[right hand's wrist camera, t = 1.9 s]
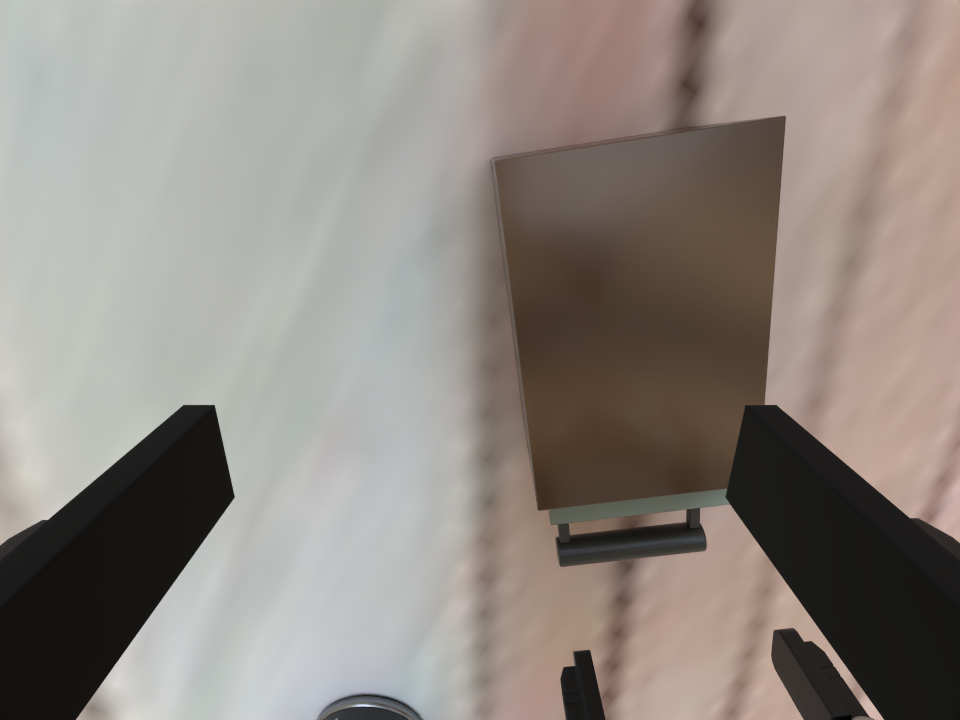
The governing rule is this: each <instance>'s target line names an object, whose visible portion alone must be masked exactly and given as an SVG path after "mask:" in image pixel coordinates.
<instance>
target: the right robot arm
mask: <svg viewBox="0 0 960 720" xmlns="http://www.w3.org/2000/svg"><path fill="white" fill-rule="evenodd" d="M234 498H235V497H234V492H233V487H232V483H231V478H230V474H229V469H228V464H227V460H226V455H225V451H224V446H223V441H222V437H221V432H220V428H219V423H218V418H217V414H216V409H215V405H183V406H182V407H181V408H180V409H179V410H177V411H176V412H175V413H174V414H173V415H171V416H170V417H169V418H168V419H167V420H166V421H164V422H163V423H162V424H161V425H160V426H158V427H157V428H156V429H155V430H154V431H153V432H151V433H150V434H149V435H148V436H147V437H145V438H144V439H143V440H142V441H141V442H140V443H138V444H137V445H136V446H135V447H134V448H133V449H131V450H130V451H129V452H128V453H127V454H125V455H124V456H123V457H122V458H121V459H120V460H118V461H117V462H116V463H115V464H114V465H112V466H111V467H110V468H109V469H108V470H107V471H105V472H104V473H103V474H102V475H101V476H99V477H98V478H97V479H96V480H95V481H94V482H92V483H91V484H90V485H89V486H88V487H86V488H85V489H84V490H83V491H82V492H81V493H79V494H78V495H77V496H76V497H75V498H73V499H72V500H71V501H70V502H69V503H68V504H66V505H65V506H64V507H63V508H62V509H61V510H59V511H58V512H57V513H56V514H55V515H53V516H52V517H51V518H50V519H49V520H42V521H40V522H38V523H36V524H35V525H33V526H31V527H29V528H27V529H26V530H24V531H22V532H20V533H18V534H17V535H15V536H13V537H11V538H9V539H8V540H7V541H5V542H4V543H3V544H2V545H1V546H0V720H76V719H77V717H78V716H79V714H80V713H81V712H82V710H83V709H84V707H85V706H86V705H87V703H88V702H89V700H90V699H91V698H92V696H93V695H94V693H95V692H96V691H97V689H98V688H99V686H100V685H101V684H102V682H103V681H104V679H105V678H106V677H107V675H108V674H109V672H110V671H111V670H112V668H113V667H114V665H115V664H116V663H117V661H118V660H119V658H120V657H121V656H122V654H123V653H124V651H125V650H126V649H127V647H128V646H129V644H130V643H131V642H132V640H133V639H134V637H135V636H136V635H137V633H138V632H139V630H140V629H141V628H142V626H143V625H144V623H145V622H146V621H147V619H148V618H149V616H150V615H151V614H152V612H153V611H154V609H155V608H156V607H157V605H158V604H159V602H160V601H161V600H162V598H163V597H164V596H165V594H166V593H167V591H168V590H169V589H170V587H171V586H172V584H173V583H174V582H175V580H176V579H177V577H178V576H179V575H180V573H181V572H182V570H183V569H184V568H185V566H186V565H187V563H188V562H189V561H190V559H191V558H192V556H193V555H194V554H195V552H196V551H197V549H198V548H199V547H200V545H201V544H202V542H203V541H204V540H205V538H206V537H207V535H208V534H209V533H210V531H211V530H212V528H213V527H214V526H215V524H216V523H217V521H218V520H219V519H220V517H221V516H222V514H223V513H224V512H225V510H226V509H227V507H228V506H229V505H230V503H231V502H232V500H233V499H234ZM725 498H726V499H727V500H728V502H729V503H730V505H731V506H732V507H733V509H734V510H735V512H736V513H737V514H738V516H739V517H740V519H741V520H742V521H743V523H744V524H745V526H746V527H747V528H748V530H749V531H750V533H751V534H752V535H753V537H754V538H755V540H756V541H757V542H758V544H759V545H760V547H761V548H762V549H763V551H764V552H765V554H766V555H767V556H768V558H769V559H770V561H771V562H772V563H773V565H774V566H775V568H776V569H777V570H778V572H779V573H780V575H781V576H782V577H783V579H784V580H785V582H786V583H787V584H788V586H789V587H790V589H791V590H792V591H793V593H794V594H795V596H796V597H797V598H798V600H799V601H800V602H801V604H802V605H803V607H804V608H805V609H806V611H807V612H808V614H809V615H810V616H811V618H812V619H813V621H814V622H815V623H816V625H817V626H818V628H819V629H820V630H821V632H822V633H823V635H824V636H825V637H826V639H827V640H828V642H829V643H830V644H831V646H832V647H833V649H834V650H835V651H836V653H837V654H838V656H839V657H840V658H841V660H842V661H843V663H844V664H845V665H846V667H847V668H848V670H849V671H850V672H851V674H852V675H853V677H854V678H855V679H856V681H857V682H858V684H859V685H860V686H861V688H862V689H863V691H864V692H865V693H866V695H867V696H868V698H869V699H870V700H871V702H872V703H873V705H874V706H875V707H876V709H877V710H878V712H879V713H880V714H881V716H882V717H883V719H884V720H960V543H959V542H958V541H956V540H955V539H954V538H953V537H951V536H949V535H947V534H946V533H944V532H942V531H940V530H938V529H937V528H935V527H933V526H931V525H929V524H928V523H926V522H924V521H922V520H920V519H919V518H909V517H908V516H907V515H905V514H904V513H903V512H902V511H901V510H899V509H898V508H897V507H896V506H895V505H894V504H892V503H891V502H890V501H889V500H888V499H887V498H885V497H884V496H883V495H882V494H881V493H879V492H878V491H877V490H876V489H875V488H874V487H872V486H871V485H870V484H869V483H868V482H866V481H865V480H864V479H863V478H862V477H861V476H859V475H858V474H857V473H856V472H855V471H853V470H852V469H851V468H850V467H849V466H848V465H846V464H845V463H844V462H843V461H842V460H840V459H839V458H838V457H837V456H836V455H835V454H833V453H832V452H831V451H830V450H829V449H827V448H826V447H825V446H824V445H823V444H822V443H820V442H819V441H818V440H817V439H816V438H815V437H813V436H812V435H811V434H810V433H809V432H807V431H806V430H805V429H804V428H803V427H802V426H800V425H799V424H798V423H797V422H796V421H794V420H793V419H792V418H791V417H790V416H789V415H787V414H786V413H785V412H784V411H783V410H781V409H780V408H779V407H778V406H777V405H745V409H744V414H743V418H742V423H741V428H740V432H739V437H738V441H737V446H736V451H735V455H734V460H733V464H732V469H731V474H730V478H729V483H728V487H727V492H726V497H725Z"/></svg>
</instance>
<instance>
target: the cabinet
mask: <svg viewBox="0 0 960 720" xmlns="http://www.w3.org/2000/svg"><path fill="white" fill-rule="evenodd" d="M785 120H786V117H785V116H779V117H771V118H762V119H754V120H745V121H737V122H728V123H720V124H711V125H703V126H695V127H688V128H682V129H675V130H669V131H662V132H656V133H649V134H643V135H637V136H630V137H624V138H617V139H611V140H604V141H598V142H591V143H585V144H578V145H572V146H565V147H559V148H553V149H546V150H540V151H533V152H527V153H520V154H514V155H507V156H501V157H494V158H491V159H490V160H491V168H492V176H493V184H494V191H495V199H496V207H497V215H498V223H499V231H500V239H501V247H502V254H503V262H504V270H505V278H506V286H507V294H508V302H509V310H510V317H511V325H512V333H513V341H514V349H515V357H516V365H517V373H518V380H519V388H520V396H521V404H522V412H523V420H524V427H525V433H526V440H527V446H528V452H529V458H530V464H531V470H532V477H533V483H534V489H535V495H536V501H537V508H538V511H540V510H549V509H557V508H566V507H574V506H583V505H591V504H600V503H609V502H617V501H626V500H634V499H643V498H651V497H660V496H668V495H677V494H686V493H694V492H703V491H711V490H720V489H727V487H728V483H729V478H730V474H731V469H732V464H733V460H734V455H735V451H736V446H737V441H738V437H739V432H740V428H741V423H742V418H743V414H744V409H745V405H764V404H765V391H766V377H767V364H768V350H769V337H770V323H771V309H772V296H773V282H774V269H775V255H776V242H777V228H778V215H779V201H780V187H781V174H782V160H783V147H784V133H785Z"/></svg>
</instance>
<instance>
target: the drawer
mask: <svg viewBox="0 0 960 720" xmlns="http://www.w3.org/2000/svg"><path fill="white" fill-rule="evenodd" d="M726 492H727V489H720V490H711V491H703V492H694V493H686V494H677V495H668V496H660V497H651V498H643V499H634V500H626V501H617V502H609V503H600V504H591V505H583V506H574V507H566V508H557V509H549V510H548V511H549V517H550V522H551V525H555V524H558V532H559V537H556V548H557V555H558V561H559V565H560V567H565V566H574V565H583V564H592V563H601V562H610V561H619V560H628V559H637V558H646V557H655V556H664V555H673V554H682V553H692V552H701V551H705V550H706V547H707V543H706V536H705V532H704V530H703V527H702V525H701V524H700V508H703V507H712V506H720V505H729V504H730V503H729V502H728V500H727V499H726V498H725V497H726ZM686 509H687V513H686V522H682V523H674V524H665V525H656V526H647V527H638V528H630V529H621V530H612V531H603V532H594V533H586V534H577V535H570V533H569V523H573V522H581V521H590V520H599V519H607V518H616V517H625V516H633V515H642V514H651V513H659V512H668V511H677V510H686Z"/></svg>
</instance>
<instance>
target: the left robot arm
mask: <svg viewBox="0 0 960 720" xmlns="http://www.w3.org/2000/svg"><path fill="white" fill-rule="evenodd" d="M573 655H574V664H575V666H571V667H564V668H563V671H562V675H561V687H562V695H563V703H564V710H565V716H566V720H605V716H604V711H603V707H602V702H601V697H600V693H599V688H598V684H597V679H596V675H595V670H594V666H593V661H592V657H591V652H590V650H584V651H574V652H573ZM771 657H772V662H773V665H774V668H775V670H776V672H777V674H778V675H779V677H780V679H781V681H782V682H783V684H784V686H785V688H786V689H787V691H788V693H789V695H790V696H791V698H792V700H793V702H794V703H795V705H796V707H797V709H798V710H799V712H800V714H801V716H802V717H803V719H804V720H874V719H872V718H870V717H869V716H868V714H867V713H866V712H865V710H864V709H863V707H862V706H861V704H860V703H859V701H858V700H857V699H856V697H855V696H854V694H853V693H852V691H851V690H850V688H849V687H848V685H847V684H846V683H845V681H844V680H843V678H842V677H841V676H840V674H839V672H838V671H837V670H836V668H835V667H834V666H833V664H832V662H831V661H830V659H829V658H828V656H827V655H826V654H825V652H824V651H823V650H821V649H820V648H819V647H818V646H817V645H815V644H814V643H813V642H812V641H809V642H804V641H803V640H802V638H801V637H800V635H799V634H798V632H797V631H796V630H795V629H794V628H789V629H779V630H774V632H773V642H772V653H771ZM317 720H420V718H419V717H418V716H417V715H416V714H415V713H414V712H413V711H412V710H410V709H409V708H407V707H406V706H404V705H402V704H400V703H398V702H395V701H392V700H389V699H385V698H380V697H372V696H360V697H352V698H347V699H343V700H340V701H338V702H336V703H334V704H332V705H330V706H329V707H327V708H326V709H325V710H324V711H323V712H322V713H321V714H320V715H319V717H318V719H317Z"/></svg>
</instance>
